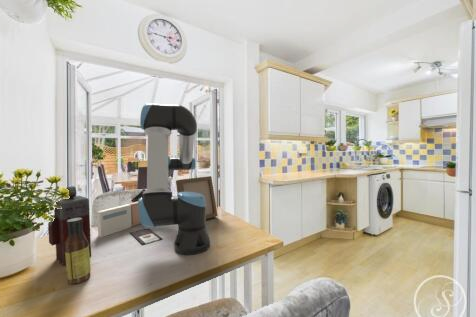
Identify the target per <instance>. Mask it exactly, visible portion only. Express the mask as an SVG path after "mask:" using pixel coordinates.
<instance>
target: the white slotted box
mask: <svg viewBox="0 0 476 317" xmlns="http://www.w3.org/2000/svg"><path fill="white" fill-rule="evenodd" d="M96 215H97V236H98V237H101V238H103V237H105V236H109V235H112V234H114V233H118V232H121V231H123V230H125V229H130V228H132V227H133V226H132V205H130V204H129V203H127V204H123V205H119V206H114V207H110V208H107V209H102V210H98V211H97V214H96Z"/></svg>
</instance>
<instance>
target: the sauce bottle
mask: <svg viewBox="0 0 476 317" xmlns="http://www.w3.org/2000/svg"><path fill="white" fill-rule="evenodd" d="M82 222H83V221H82V218H73V219H69V220H67V226H68V237H67V239H66V241H65V259H66V266H65V267H66V278H67V282H68V283H69V284H72V285H74V284H80V283H83V282H85V281H87V280H88V279H90V277H91V270H92V269H91V259H90V258H91V257H90V255H89V244H88V240H87V238H86V236H85V234H84V232H83V229H82Z"/></svg>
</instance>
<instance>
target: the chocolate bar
mask: <svg viewBox="0 0 476 317" xmlns="http://www.w3.org/2000/svg"><path fill="white" fill-rule="evenodd" d="M129 234H130V235H131V236H132V237H133V238H134V239H135V240H137V242H138V243H139V244H140V245H141V246H144V245H148V244H151V243H154V242H159V241H161V240H163V237H161V236H160V235H159V234H157V233H156V232H154V231H153V230H152V229H150V227H145V228H143V229H138V230H135V231H130V232H129Z"/></svg>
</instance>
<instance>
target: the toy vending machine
mask: <svg viewBox="0 0 476 317" xmlns="http://www.w3.org/2000/svg"><path fill="white" fill-rule="evenodd" d="M66 189H68V190H69V196H70V198H69V199H62V200H60V201H58V202H56V204H57V205H58V206H61V207H62V209H57V208H55V210H53V212H54V213H53V215H52V216H54V217H55V219H54V221H53V222H49V221H48V224H47V228H48V243H49V244H50V245H51V246H55V254H56V257H55V258H56V260H57V261H58V262H59V264H61V266H63V267H66V259H65V241H66V239H67V237H68V226H67V220H69V219H73V218H82V221H83V222H82V229H83V232H84V234H85V236H86V238H87V240H88V244H89V255H90V258H91V257H92V244H91V243H92V242H91V220H90V218H91V216H90V200H89V198H87V197H85V196H82V195H77V188H76V186H74V185H72V186H67V187H66ZM66 189H65V190H66Z"/></svg>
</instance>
